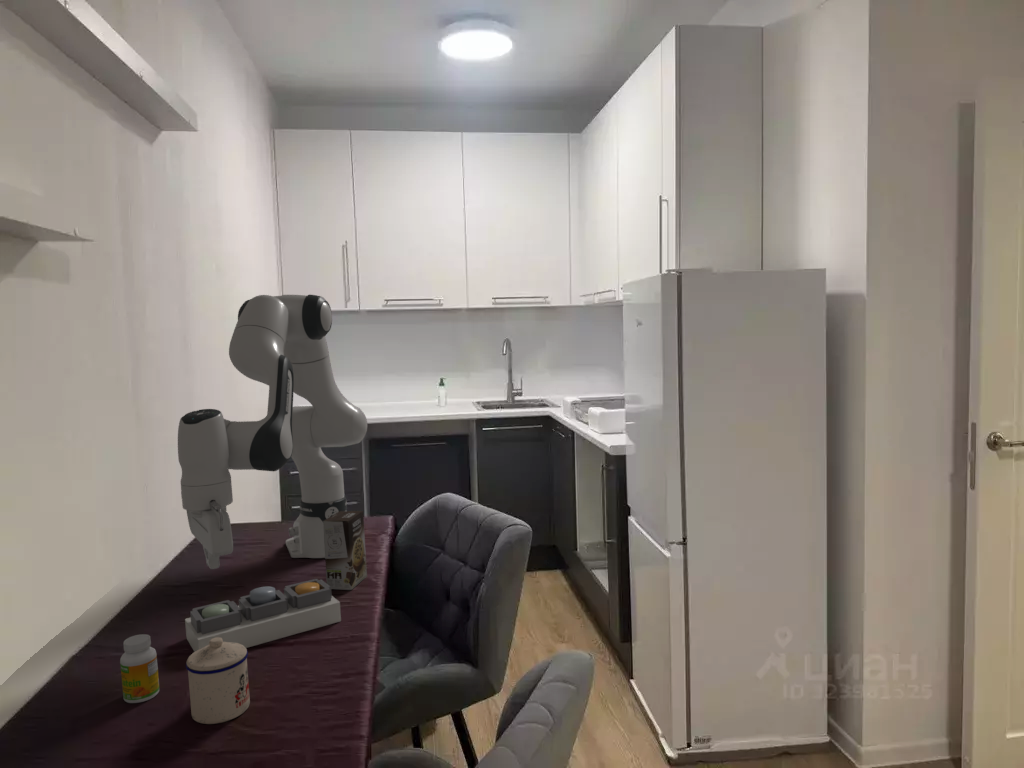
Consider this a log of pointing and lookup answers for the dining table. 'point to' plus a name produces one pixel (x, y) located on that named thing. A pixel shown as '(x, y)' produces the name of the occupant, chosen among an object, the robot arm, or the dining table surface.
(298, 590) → the orange button
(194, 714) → the teacup with lid
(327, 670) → the dining table surface
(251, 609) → the button console
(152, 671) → the supplement bottle
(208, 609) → the sage button
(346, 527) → the coffee box
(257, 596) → the slate button
